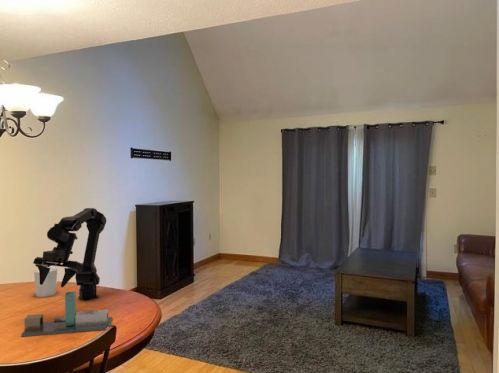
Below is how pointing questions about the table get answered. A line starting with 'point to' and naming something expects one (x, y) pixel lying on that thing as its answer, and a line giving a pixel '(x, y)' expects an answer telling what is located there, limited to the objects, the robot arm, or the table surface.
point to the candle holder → (46, 283)
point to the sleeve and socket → (82, 323)
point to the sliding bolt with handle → (68, 309)
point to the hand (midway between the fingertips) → (51, 285)
